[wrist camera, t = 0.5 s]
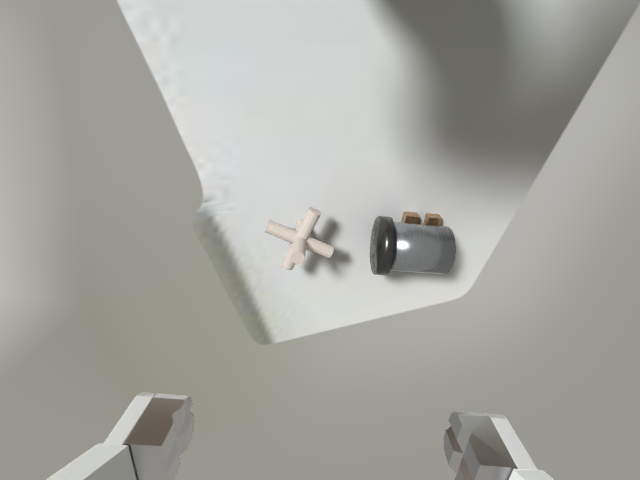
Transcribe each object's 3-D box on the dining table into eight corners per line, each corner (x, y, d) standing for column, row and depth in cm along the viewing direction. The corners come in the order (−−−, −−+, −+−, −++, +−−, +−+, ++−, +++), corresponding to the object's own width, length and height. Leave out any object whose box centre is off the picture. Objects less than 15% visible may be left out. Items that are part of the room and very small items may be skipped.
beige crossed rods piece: (344, 210, 48) (350, 242, 39) (317, 260, 52) (316, 298, 43) (284, 183, 45) (276, 210, 37) (261, 237, 50) (248, 273, 41)
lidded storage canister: (367, 252, 51) (375, 286, 43) (375, 205, 47) (386, 232, 39) (426, 256, 51) (446, 291, 43) (440, 210, 47) (464, 238, 39)
